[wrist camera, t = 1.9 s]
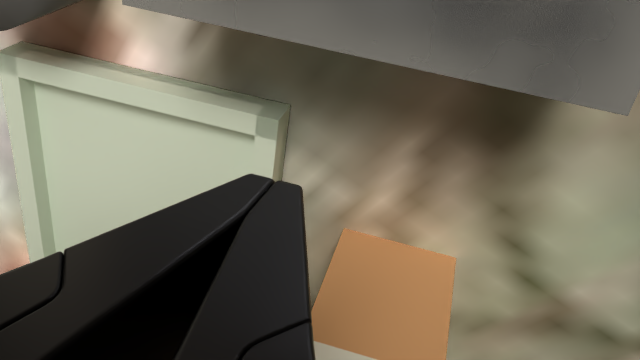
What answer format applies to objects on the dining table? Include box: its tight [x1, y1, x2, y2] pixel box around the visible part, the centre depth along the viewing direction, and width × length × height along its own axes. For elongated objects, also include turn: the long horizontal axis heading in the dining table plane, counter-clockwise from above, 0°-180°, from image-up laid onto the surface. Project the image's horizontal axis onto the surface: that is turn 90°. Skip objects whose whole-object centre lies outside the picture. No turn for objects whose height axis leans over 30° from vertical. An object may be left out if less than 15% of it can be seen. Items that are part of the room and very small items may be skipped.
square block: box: [311, 228, 456, 360], centre depth 22 cm, size 5×5×7 cm
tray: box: [0, 41, 291, 263], centre depth 25 cm, size 12×11×1 cm
